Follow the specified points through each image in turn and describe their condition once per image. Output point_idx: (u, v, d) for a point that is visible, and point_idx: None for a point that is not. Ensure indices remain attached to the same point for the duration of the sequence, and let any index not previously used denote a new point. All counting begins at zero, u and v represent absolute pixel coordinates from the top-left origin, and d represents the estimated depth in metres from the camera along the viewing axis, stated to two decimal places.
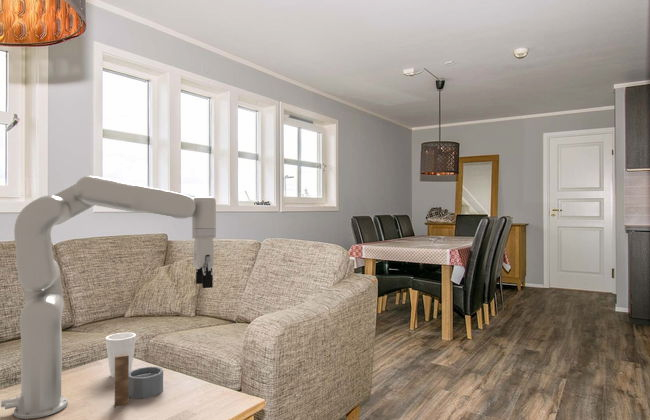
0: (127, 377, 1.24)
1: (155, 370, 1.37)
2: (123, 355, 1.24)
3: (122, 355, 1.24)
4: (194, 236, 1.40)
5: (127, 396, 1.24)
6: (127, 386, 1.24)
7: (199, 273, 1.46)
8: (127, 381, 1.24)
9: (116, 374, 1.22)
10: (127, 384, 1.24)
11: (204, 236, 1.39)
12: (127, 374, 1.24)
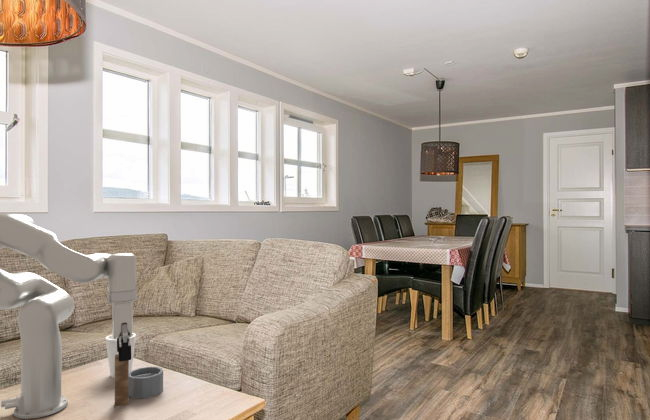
0: (127, 377, 1.24)
1: (155, 370, 1.37)
2: None
3: None
4: (109, 301, 1.22)
5: (127, 396, 1.24)
6: (127, 386, 1.24)
7: None
8: (127, 381, 1.24)
9: (116, 374, 1.22)
10: (127, 384, 1.24)
11: (120, 301, 1.21)
12: (127, 374, 1.24)
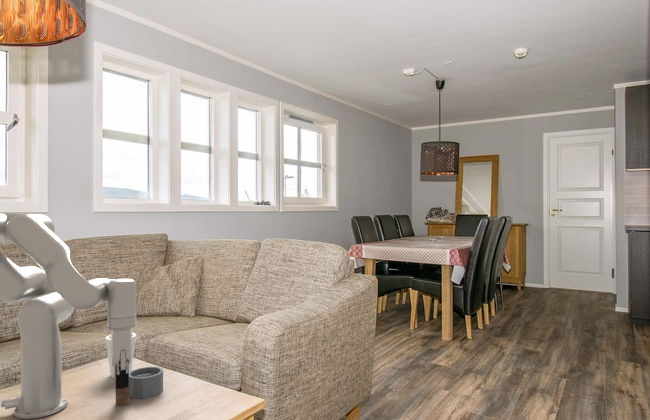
0: None
1: (155, 370, 1.37)
2: None
3: None
4: (109, 327, 1.21)
5: (128, 396, 1.24)
6: (128, 386, 1.24)
7: None
8: None
9: (116, 374, 1.22)
10: None
11: (120, 327, 1.21)
12: None
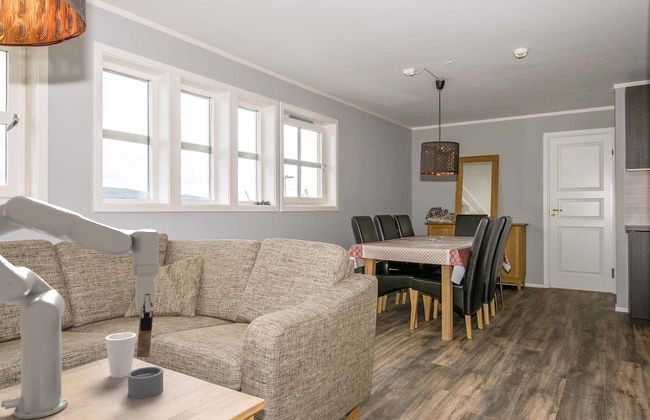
0: (150, 331, 1.32)
1: (155, 370, 1.37)
2: None
3: None
4: (133, 273, 1.30)
5: (149, 349, 1.32)
6: (149, 339, 1.32)
7: None
8: (150, 334, 1.32)
9: (140, 327, 1.31)
10: (150, 337, 1.32)
11: (144, 273, 1.29)
12: None
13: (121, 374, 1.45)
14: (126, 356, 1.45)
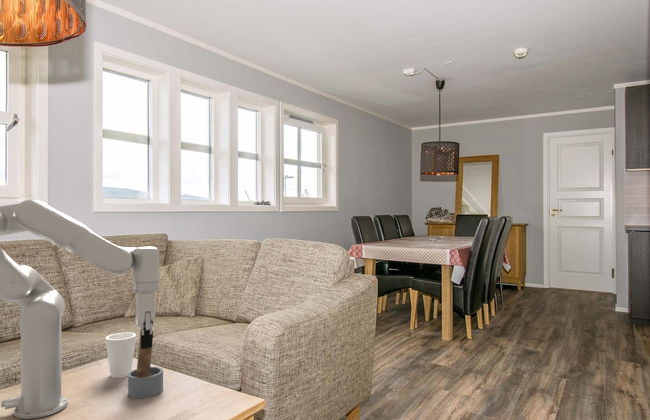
0: (150, 351, 1.32)
1: (155, 370, 1.37)
2: None
3: None
4: (134, 291, 1.30)
5: (149, 369, 1.32)
6: (149, 360, 1.32)
7: None
8: (150, 355, 1.32)
9: None
10: (150, 358, 1.32)
11: (144, 291, 1.29)
12: (150, 349, 1.32)
13: (121, 374, 1.45)
14: (126, 356, 1.45)
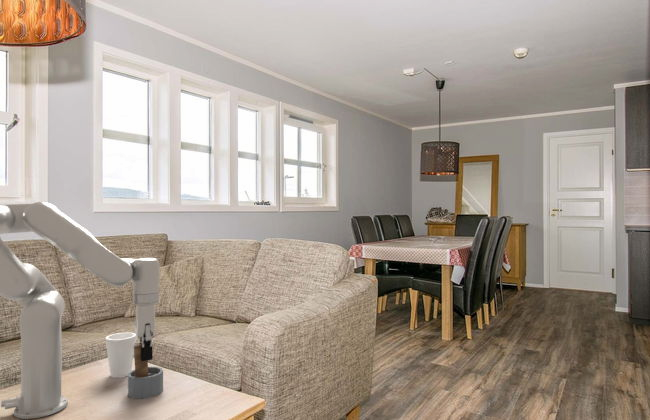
0: (146, 365, 1.32)
1: (155, 370, 1.37)
2: (141, 344, 1.32)
3: (140, 344, 1.32)
4: (134, 302, 1.30)
5: None
6: (147, 373, 1.32)
7: None
8: (147, 368, 1.32)
9: (136, 362, 1.30)
10: (147, 371, 1.32)
11: (144, 303, 1.29)
12: (146, 362, 1.32)
13: (121, 374, 1.45)
14: (126, 356, 1.45)
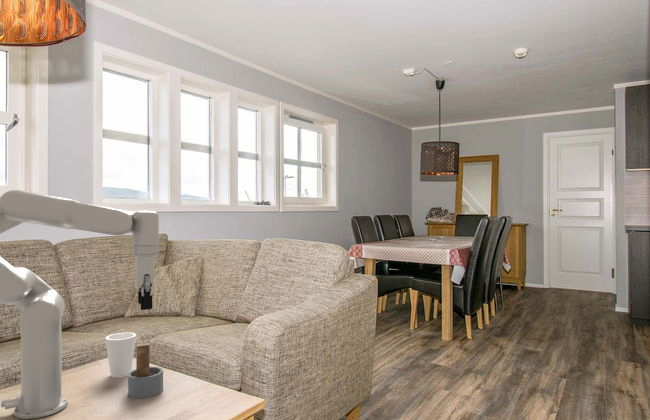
0: (148, 365, 1.32)
1: (155, 370, 1.37)
2: (144, 344, 1.32)
3: (143, 344, 1.32)
4: (133, 254, 1.30)
5: None
6: (148, 373, 1.32)
7: (141, 292, 1.37)
8: (148, 369, 1.32)
9: (138, 362, 1.31)
10: (148, 372, 1.32)
11: (144, 254, 1.30)
12: (148, 362, 1.32)
13: (121, 374, 1.45)
14: (126, 356, 1.45)
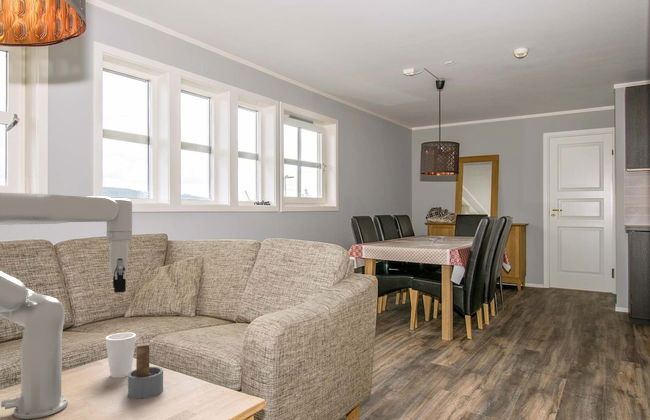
0: (148, 365, 1.32)
1: (155, 370, 1.37)
2: (144, 344, 1.32)
3: (143, 344, 1.32)
4: (107, 239, 1.37)
5: None
6: (148, 373, 1.32)
7: None
8: (148, 369, 1.32)
9: (138, 362, 1.31)
10: (148, 372, 1.32)
11: (117, 239, 1.36)
12: (148, 362, 1.32)
13: (121, 374, 1.45)
14: (126, 356, 1.45)
